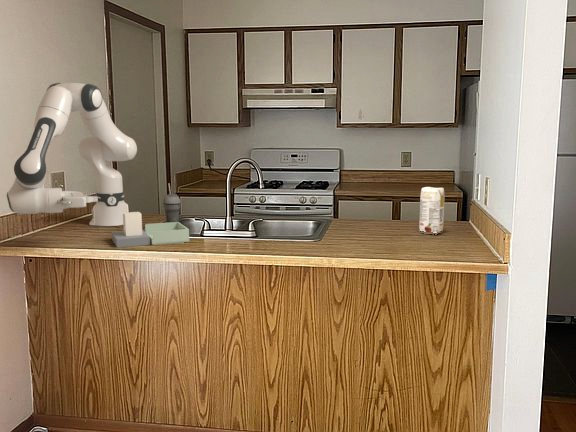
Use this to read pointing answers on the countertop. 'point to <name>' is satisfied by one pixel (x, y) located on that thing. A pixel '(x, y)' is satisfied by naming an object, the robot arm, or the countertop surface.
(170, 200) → the beverage cup
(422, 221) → the juice carton
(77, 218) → the countertop surface
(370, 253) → the countertop surface
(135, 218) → the off-white upright block
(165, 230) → the box
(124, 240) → the board
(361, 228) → the countertop surface
